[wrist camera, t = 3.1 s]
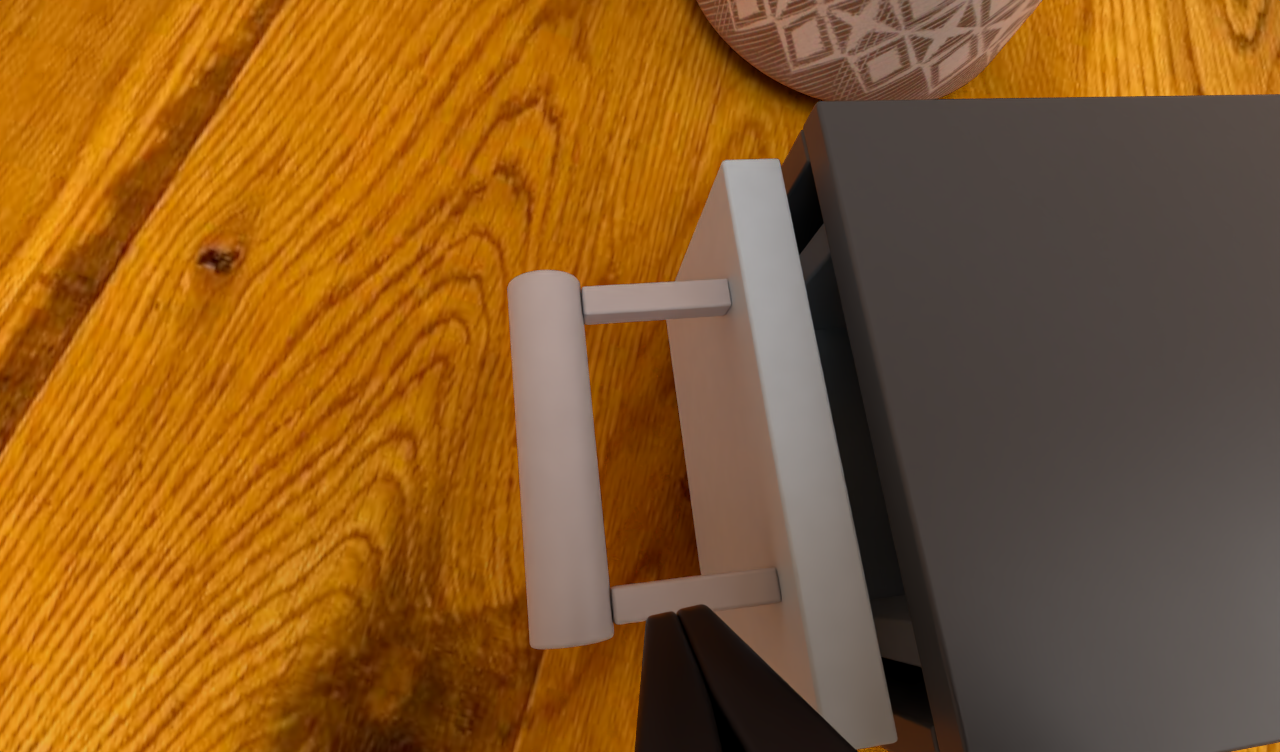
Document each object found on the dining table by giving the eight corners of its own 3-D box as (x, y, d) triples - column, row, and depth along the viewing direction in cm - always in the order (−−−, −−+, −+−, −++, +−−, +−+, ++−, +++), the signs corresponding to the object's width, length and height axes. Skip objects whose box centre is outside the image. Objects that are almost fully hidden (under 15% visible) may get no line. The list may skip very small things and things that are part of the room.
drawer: (546, 704, 16) (536, 807, 9) (519, 315, 19) (496, 164, 12) (1137, 615, 18) (1488, 641, 11) (1033, 283, 21) (1263, 143, 14)
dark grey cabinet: (770, 688, 17) (977, 802, 9) (708, 296, 21) (815, 99, 12) (1199, 621, 19) (1710, 662, 11) (1081, 274, 23) (1403, 90, 14)
